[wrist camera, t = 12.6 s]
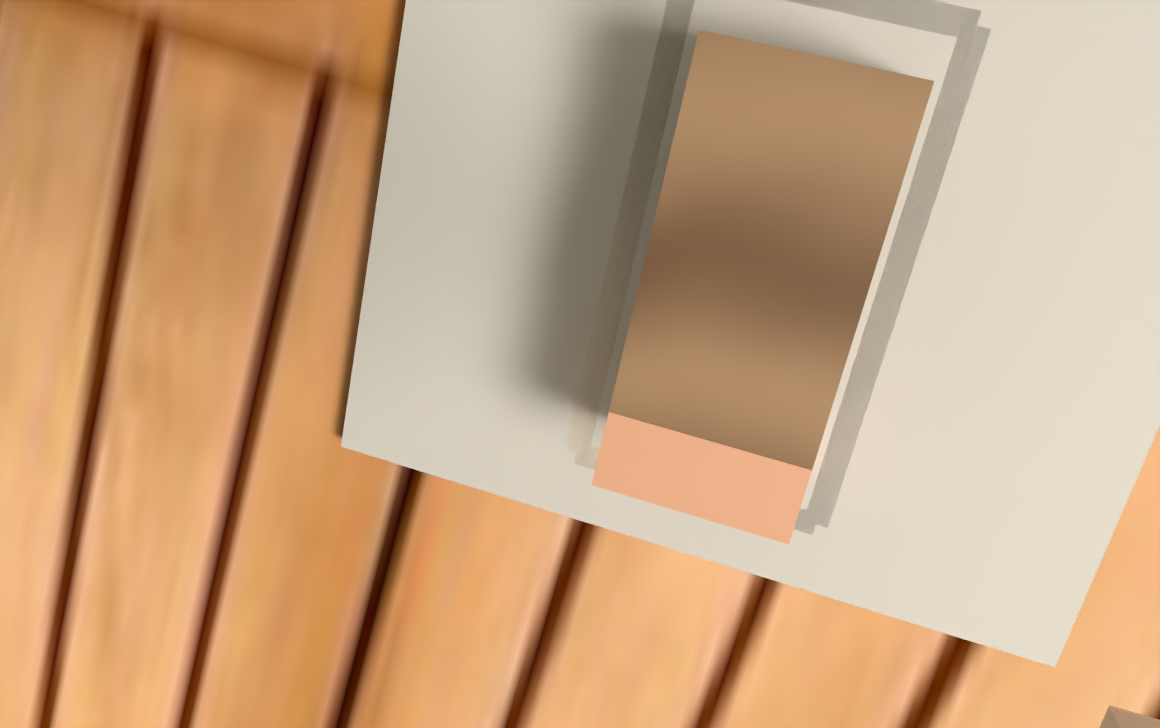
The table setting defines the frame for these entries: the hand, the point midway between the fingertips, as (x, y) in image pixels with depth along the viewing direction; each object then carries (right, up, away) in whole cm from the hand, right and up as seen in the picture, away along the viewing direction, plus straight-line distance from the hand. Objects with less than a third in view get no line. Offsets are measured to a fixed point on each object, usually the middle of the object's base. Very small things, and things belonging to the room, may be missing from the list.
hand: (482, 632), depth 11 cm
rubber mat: (+6, +6, +16) cm, 18 cm away
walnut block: (+6, +6, +16) cm, 18 cm away
